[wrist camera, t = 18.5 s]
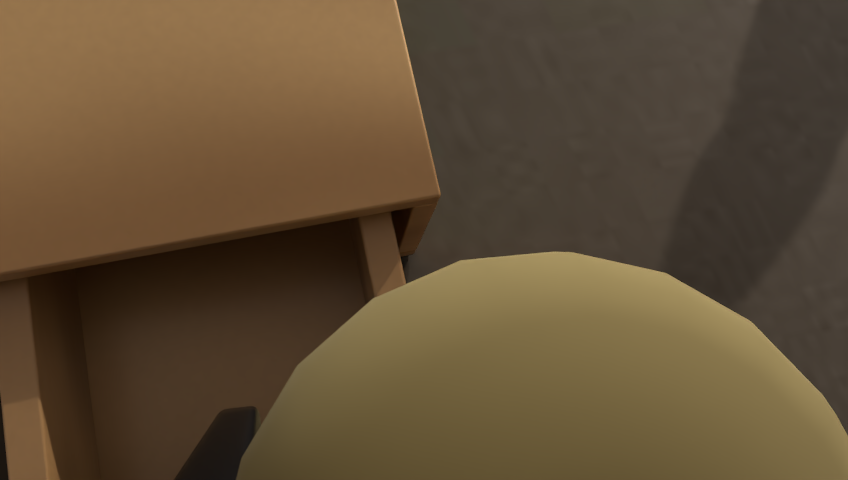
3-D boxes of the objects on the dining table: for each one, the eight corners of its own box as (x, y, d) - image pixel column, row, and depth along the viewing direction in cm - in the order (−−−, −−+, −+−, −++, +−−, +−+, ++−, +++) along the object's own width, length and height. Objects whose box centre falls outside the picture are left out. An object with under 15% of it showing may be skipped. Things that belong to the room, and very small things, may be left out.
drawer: (506, 760, 19) (557, 862, 15) (105, 883, 18) (28, 1037, 13) (341, -11, 24) (341, -109, 20) (10, 32, 22) (-70, -63, 18)
